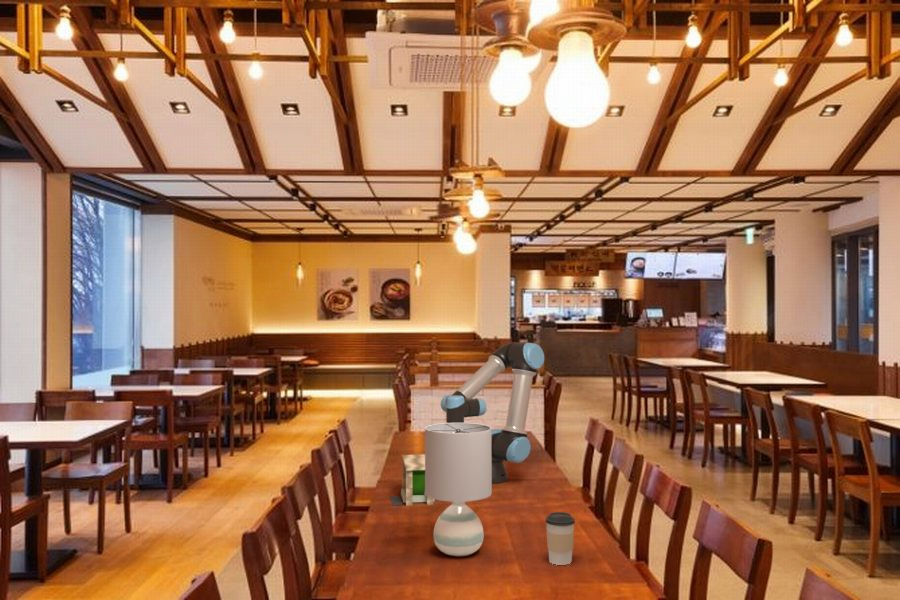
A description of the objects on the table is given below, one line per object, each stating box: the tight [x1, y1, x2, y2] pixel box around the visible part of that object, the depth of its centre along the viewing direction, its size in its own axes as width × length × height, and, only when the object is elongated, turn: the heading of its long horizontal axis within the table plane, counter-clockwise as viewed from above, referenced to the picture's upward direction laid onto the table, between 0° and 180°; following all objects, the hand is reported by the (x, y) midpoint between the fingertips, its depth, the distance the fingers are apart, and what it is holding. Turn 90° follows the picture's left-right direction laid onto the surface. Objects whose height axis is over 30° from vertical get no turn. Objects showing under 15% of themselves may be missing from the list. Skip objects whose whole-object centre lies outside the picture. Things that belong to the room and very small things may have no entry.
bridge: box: [401, 453, 434, 507], centre depth 304 cm, size 11×24×16 cm, turn 8°
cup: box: [412, 470, 425, 496], centre depth 304 cm, size 9×9×11 cm
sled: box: [400, 488, 436, 504], centre depth 306 cm, size 31×13×8 cm, turn 98°
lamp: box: [424, 422, 493, 557], centre depth 237 cm, size 22×22×40 cm
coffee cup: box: [545, 511, 576, 566], centre depth 227 cm, size 9×9×15 cm
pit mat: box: [389, 495, 403, 506], centre depth 301 cm, size 4×14×1 cm, turn 8°
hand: (454, 488), depth 306 cm, fingers closed
